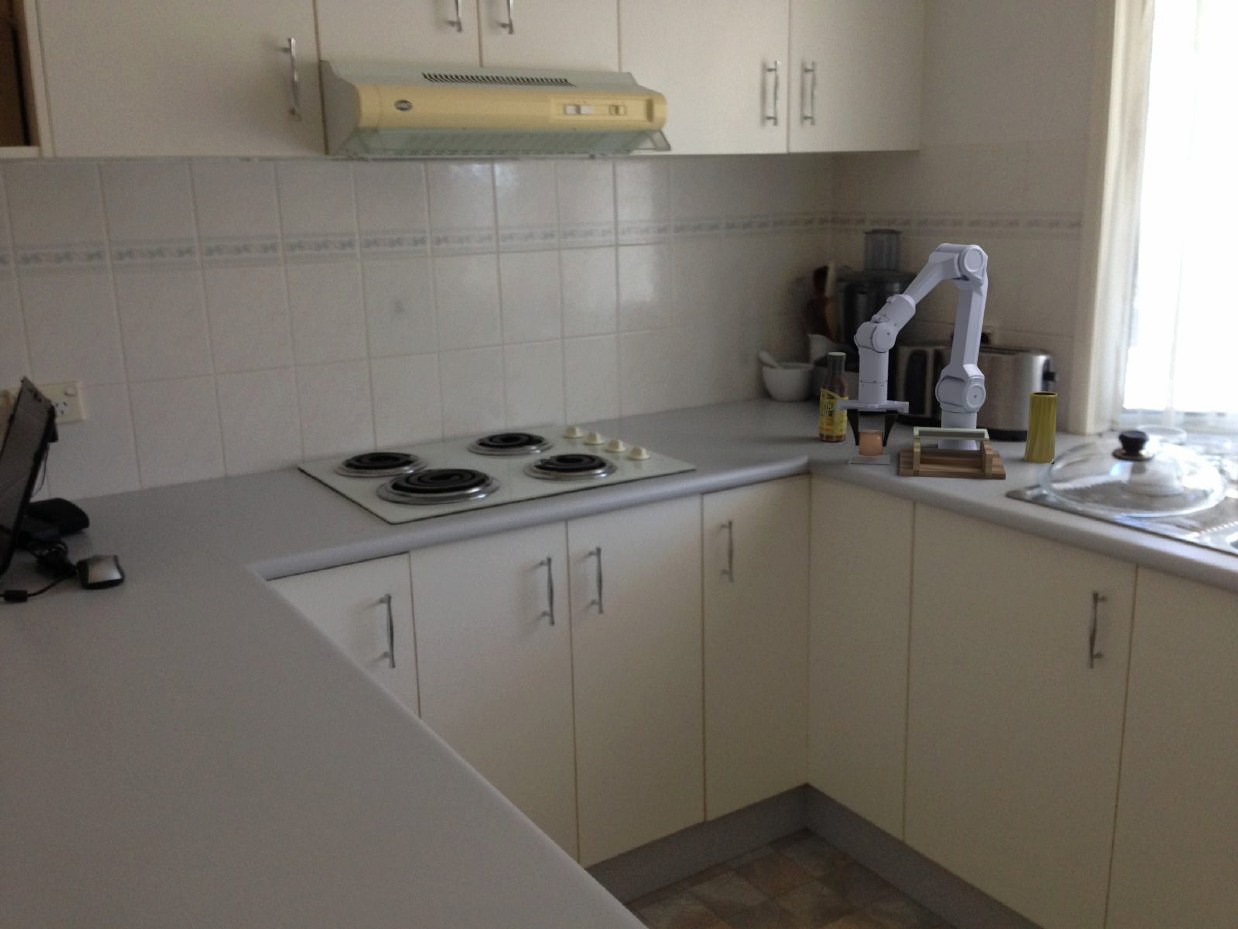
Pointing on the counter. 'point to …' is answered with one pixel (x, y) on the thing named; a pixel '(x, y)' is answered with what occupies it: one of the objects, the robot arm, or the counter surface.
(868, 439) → the tan rounded cylinder
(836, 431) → the sauce bottle
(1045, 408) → the vase
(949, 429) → the cover
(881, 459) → the coaster
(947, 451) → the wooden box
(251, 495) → the counter surface
